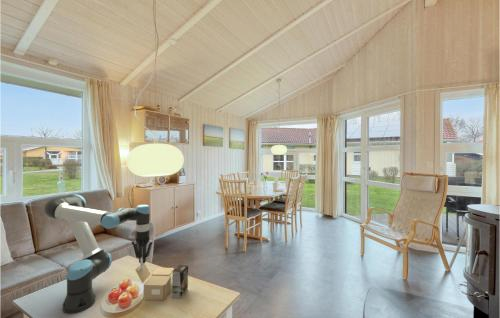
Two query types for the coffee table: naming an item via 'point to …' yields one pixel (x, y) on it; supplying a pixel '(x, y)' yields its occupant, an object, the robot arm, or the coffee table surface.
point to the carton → (158, 284)
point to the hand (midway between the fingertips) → (142, 267)
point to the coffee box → (180, 281)
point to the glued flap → (142, 273)
